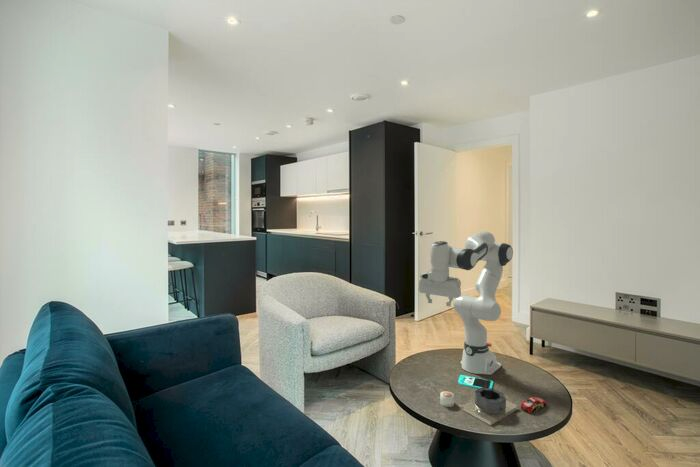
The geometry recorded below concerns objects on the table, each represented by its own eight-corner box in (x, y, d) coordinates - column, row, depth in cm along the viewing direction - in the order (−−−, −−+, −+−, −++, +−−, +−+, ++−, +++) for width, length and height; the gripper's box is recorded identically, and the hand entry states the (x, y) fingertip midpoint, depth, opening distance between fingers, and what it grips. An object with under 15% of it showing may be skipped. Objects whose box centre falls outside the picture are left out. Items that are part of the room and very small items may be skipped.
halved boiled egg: (446, 398, 162) (446, 389, 162) (456, 404, 157) (457, 395, 157) (437, 402, 159) (437, 393, 159) (448, 408, 154) (448, 399, 154)
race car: (537, 400, 160) (537, 392, 160) (548, 406, 155) (549, 397, 155) (518, 408, 154) (518, 399, 154) (529, 414, 149) (529, 405, 149)
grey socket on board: (489, 395, 164) (489, 381, 164) (518, 409, 153) (518, 394, 153) (461, 409, 153) (461, 394, 153) (490, 425, 142) (490, 409, 141)
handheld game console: (460, 376, 184) (460, 373, 184) (493, 383, 177) (493, 380, 177) (456, 385, 176) (456, 382, 176) (491, 392, 168) (491, 389, 168)
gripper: (463, 277, 164) (462, 306, 165) (423, 272, 177) (422, 300, 178) (458, 279, 159) (457, 309, 160) (417, 274, 172) (416, 302, 173)
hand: (439, 304), depth 169 cm, fingers open, 8 cm apart
